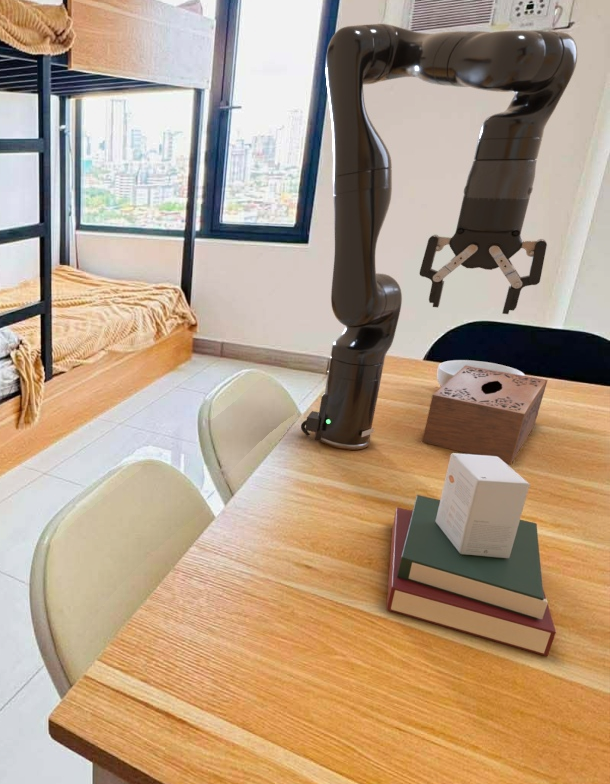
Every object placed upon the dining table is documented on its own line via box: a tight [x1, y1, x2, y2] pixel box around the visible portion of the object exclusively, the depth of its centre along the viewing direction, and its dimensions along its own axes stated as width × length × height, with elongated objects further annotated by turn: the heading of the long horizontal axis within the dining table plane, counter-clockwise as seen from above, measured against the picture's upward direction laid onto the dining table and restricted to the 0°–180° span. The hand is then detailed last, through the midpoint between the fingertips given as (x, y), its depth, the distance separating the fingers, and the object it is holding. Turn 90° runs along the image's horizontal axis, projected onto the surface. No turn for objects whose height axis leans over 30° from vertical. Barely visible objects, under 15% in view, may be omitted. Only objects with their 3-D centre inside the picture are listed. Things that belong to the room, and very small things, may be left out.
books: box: [386, 494, 557, 657], centre depth 82 cm, size 16×22×6 cm
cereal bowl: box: [436, 359, 526, 388], centre depth 146 cm, size 17×17×7 cm
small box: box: [436, 452, 531, 558], centre depth 79 cm, size 8×6×10 cm
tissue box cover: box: [422, 365, 548, 465], centre depth 127 cm, size 26×14×10 cm, turn 135°
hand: (469, 309), depth 92 cm, fingers open, 8 cm apart
